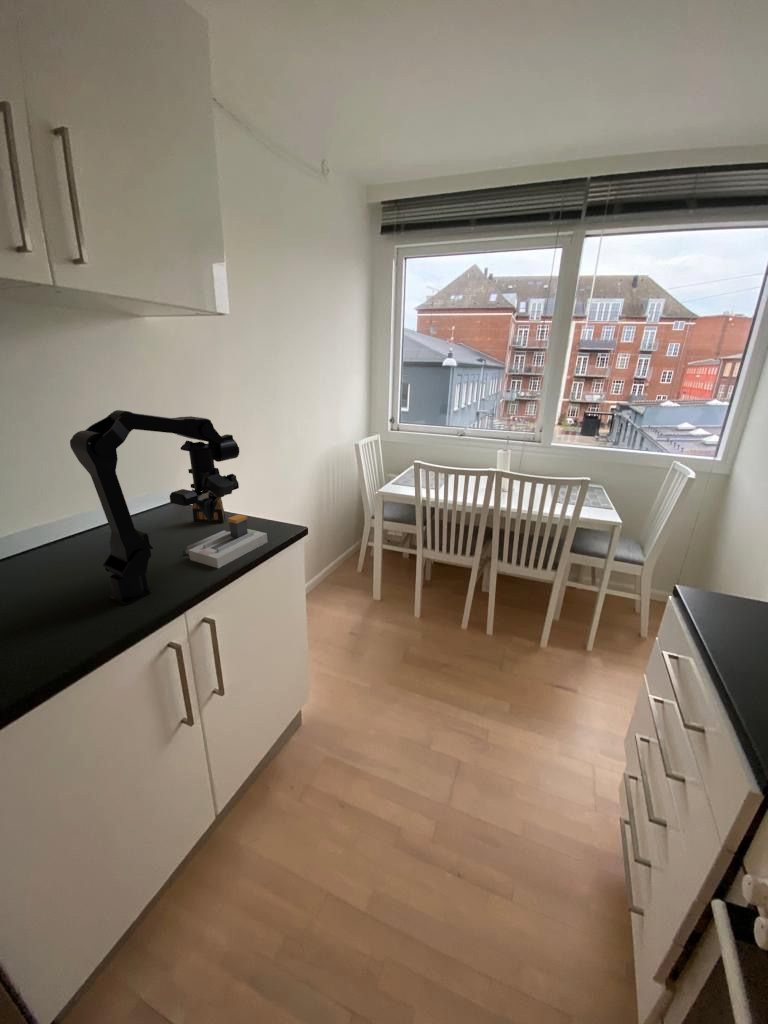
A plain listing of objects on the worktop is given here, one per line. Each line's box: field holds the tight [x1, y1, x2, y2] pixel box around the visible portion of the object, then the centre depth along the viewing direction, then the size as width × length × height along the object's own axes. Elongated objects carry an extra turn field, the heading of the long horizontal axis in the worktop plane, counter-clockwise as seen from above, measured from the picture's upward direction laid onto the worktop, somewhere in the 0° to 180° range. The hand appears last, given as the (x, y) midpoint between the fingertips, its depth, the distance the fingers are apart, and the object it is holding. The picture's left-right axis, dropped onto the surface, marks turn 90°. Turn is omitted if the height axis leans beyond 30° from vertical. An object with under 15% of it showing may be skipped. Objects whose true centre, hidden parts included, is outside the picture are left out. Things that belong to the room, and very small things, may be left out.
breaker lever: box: [227, 513, 248, 538], centre depth 127 cm, size 4×3×6 cm
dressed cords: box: [184, 529, 230, 555], centre depth 130 cm, size 17×3×1 cm, turn 154°
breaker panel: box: [188, 528, 268, 569], centre depth 125 cm, size 20×11×4 cm, turn 154°
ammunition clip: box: [191, 488, 227, 524], centre depth 145 cm, size 11×2×12 cm, turn 88°
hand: (210, 519), depth 117 cm, fingers closed
